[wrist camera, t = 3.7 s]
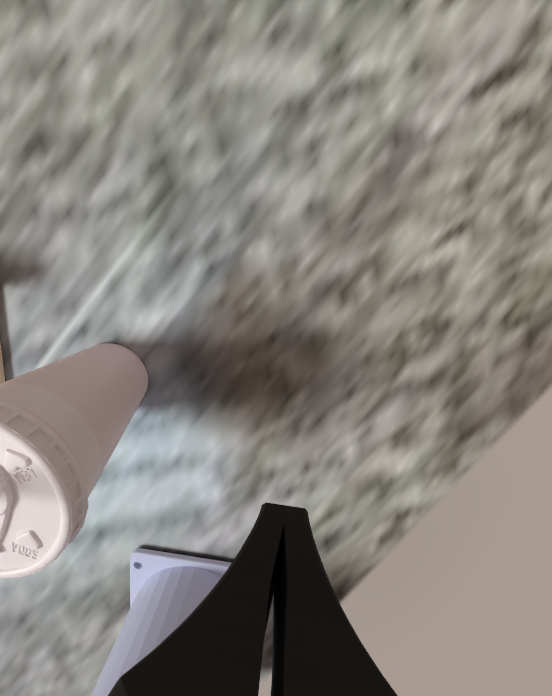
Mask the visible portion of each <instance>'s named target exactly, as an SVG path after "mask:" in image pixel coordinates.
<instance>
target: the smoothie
mask: <svg viewBox="0 0 552 696" xmlns="http://www.w3.org/2000/svg"><path fill="white" fill-rule="evenodd" d="M147 387H148V375H147V371H146V368H145V366H144V364H143V363H142V361H141V360H140V359H139V357H138V356H137V355H136V354H135V353H133V352H132V351H131V350H129V349H127V348H126V347H123V346H121V345H118V344H113V343H103V344H99V345H96V346H93V347H91V348H88V349H86V350H83V351H81V352H78V353H76V354H73V355H71V356H68V357H66V358H63V359H61V360H58V361H56V362H53V363H51V364H48V365H46V366H43V367H41V368H38V369H36V370H33V371H31V372H28V373H26V374H23V375H21V376H18V377H16V378H13V379H11V380H8V381H6V382H3V383H1V384H0V578H15V577H21V576H26V575H29V574H33V573H35V572H38V571H40V570H42V569H44V568H46V567H47V566H49V565H50V564H52V563H53V562H54V561H55V560H56V559H57V558H58V557H59V556H60V555H61V553H62V552H63V551H64V549H65V548H66V546H67V545H68V544H69V543H71V542H72V541H73V540H74V538H75V537H76V535H77V534H78V532H79V531H80V530H81V528H82V527H83V525H84V521H85V517H86V513H87V509H88V497H89V495H90V493H91V491H92V490H93V488H94V486H95V485H96V482H97V480H98V478H99V477H100V475H101V473H102V471H103V469H104V467H105V466H106V464H107V462H108V460H109V458H110V457H111V455H112V453H113V451H114V449H115V448H116V446H117V444H118V442H119V440H120V439H121V437H122V435H123V433H124V431H125V429H126V428H127V426H128V424H129V422H130V420H131V419H132V417H133V415H134V413H135V411H136V410H137V408H138V406H139V404H140V402H141V401H142V399H143V397H144V395H145V393H146V391H147Z"/></svg>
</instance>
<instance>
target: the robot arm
mask: <svg viewBox="0 0 552 696" xmlns="http://www.w3.org/2000/svg"><path fill="white" fill-rule="evenodd" d="M273 592H274V615H273V668H272V687H271V696H397V695H396V693H395V692H394V690H393V689H392V688H391V686H390V685H389V684H388V682H387V681H386V679H385V678H384V677H383V675H382V674H381V672H380V671H379V669H378V668H377V666H376V665H375V663H374V661H373V660H372V658H371V657H370V655H369V654H368V652H367V651H366V649H365V648H364V646H363V645H362V643H361V641H360V640H359V638H358V636H357V635H356V633H355V631H354V629H353V628H352V626H351V624H350V623H349V620H348V619H347V617H346V615H345V613H344V611H343V609H342V607H341V605H340V603H339V601H338V599H337V597H336V595H335V593H334V590H333V588H332V586H331V584H330V581H329V579H328V577H327V574H326V572H325V569H324V567H323V564H322V561H321V559H320V556H319V553H318V550H317V547H316V544H315V541H314V538H313V535H312V531H311V527H310V523H309V518H308V512H307V511H306V509H305V508H298V507H292V506H285V505H279V504H272V503H265V504H263V505H262V507H261V511H260V513H259V516H258V518H257V521H256V523H255V525H254V527H253V529H252V531H251V533H250V534H249V536H248V538H247V540H246V541H245V543H244V545H243V546H242V548H241V550H240V551H239V553H238V554H237V556H236V557H235V559H234V560H233V562H232V563H231V562H224V561H218V560H212V559H205V558H199V557H193V556H186V555H180V554H173V553H167V552H161V551H154V550H148V549H142V548H136V549H134V550H133V551H132V553H131V555H130V607H131V609H130V611H129V613H128V615H127V617H126V620H125V622H124V624H123V626H122V628H121V631H120V633H119V635H118V637H117V640H116V642H115V644H114V646H113V648H112V651H111V653H110V655H109V657H108V659H107V662H106V664H105V666H104V668H103V671H102V673H101V675H100V677H99V679H98V682H97V684H96V686H95V688H94V690H93V693H92V695H91V696H258V690H259V681H260V671H261V661H262V652H263V642H264V637H265V632H266V627H267V622H268V617H269V612H270V607H271V602H272V597H273Z"/></svg>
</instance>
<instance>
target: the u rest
mask: <svg viewBox="0 0 552 696" xmlns="http://www.w3.org/2000/svg"><path fill="white" fill-rule="evenodd" d="M3 382H5V375H4V366H3V358H2V350H1V342H0V384H1V383H3Z"/></svg>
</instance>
